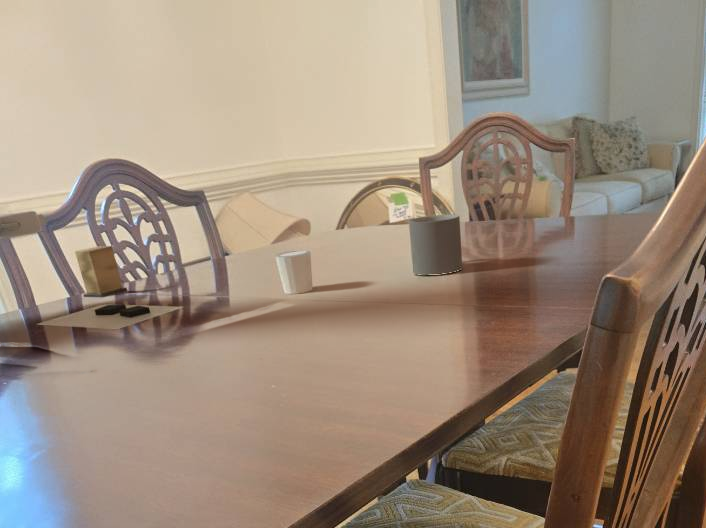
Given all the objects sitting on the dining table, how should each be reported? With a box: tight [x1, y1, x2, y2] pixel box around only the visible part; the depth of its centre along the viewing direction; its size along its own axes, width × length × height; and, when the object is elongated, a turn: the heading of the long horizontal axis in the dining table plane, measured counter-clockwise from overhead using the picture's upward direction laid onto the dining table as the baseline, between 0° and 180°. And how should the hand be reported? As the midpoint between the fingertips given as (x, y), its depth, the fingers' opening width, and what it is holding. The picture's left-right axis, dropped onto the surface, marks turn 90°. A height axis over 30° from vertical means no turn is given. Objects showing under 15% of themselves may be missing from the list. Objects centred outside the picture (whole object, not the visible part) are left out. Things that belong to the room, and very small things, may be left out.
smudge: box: [95, 304, 126, 315], centre depth 144 cm, size 4×4×1 cm
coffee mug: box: [408, 213, 463, 275], centre depth 154 cm, size 13×10×10 cm
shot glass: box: [274, 250, 314, 295], centre depth 149 cm, size 7×7×7 cm
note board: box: [35, 303, 184, 330], centre depth 142 cm, size 22×16×1 cm
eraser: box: [74, 245, 128, 298], centre depth 162 cm, size 6×7×10 cm
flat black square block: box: [119, 305, 150, 318], centre depth 140 cm, size 4×4×1 cm
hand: (25, 221), depth 147 cm, fingers open, 8 cm apart
